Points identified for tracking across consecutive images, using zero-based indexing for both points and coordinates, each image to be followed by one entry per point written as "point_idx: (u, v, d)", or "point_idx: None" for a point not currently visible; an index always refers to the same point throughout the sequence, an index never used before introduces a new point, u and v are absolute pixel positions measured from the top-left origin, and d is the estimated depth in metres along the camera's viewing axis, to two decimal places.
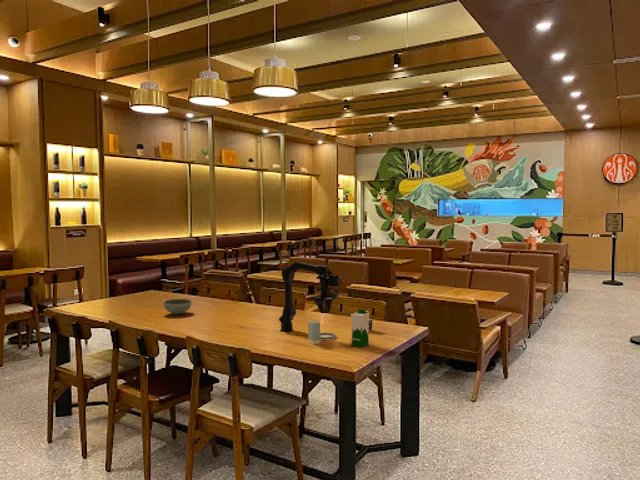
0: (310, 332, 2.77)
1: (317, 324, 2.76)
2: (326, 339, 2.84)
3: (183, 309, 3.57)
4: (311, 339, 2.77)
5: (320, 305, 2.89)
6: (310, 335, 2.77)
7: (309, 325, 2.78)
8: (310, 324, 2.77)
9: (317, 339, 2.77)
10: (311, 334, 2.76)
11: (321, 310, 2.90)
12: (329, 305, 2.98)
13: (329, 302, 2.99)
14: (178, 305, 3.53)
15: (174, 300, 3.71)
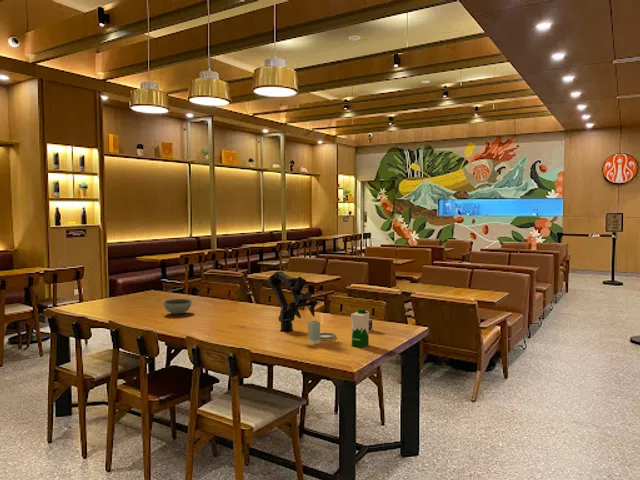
0: (310, 332, 2.77)
1: (317, 324, 2.76)
2: (326, 339, 2.84)
3: (183, 309, 3.57)
4: (311, 339, 2.77)
5: (295, 311, 2.85)
6: (310, 335, 2.77)
7: (309, 325, 2.78)
8: (310, 324, 2.77)
9: (317, 339, 2.77)
10: (311, 334, 2.76)
11: (298, 315, 2.83)
12: (312, 311, 2.89)
13: (311, 308, 2.90)
14: (178, 305, 3.53)
15: (174, 300, 3.71)
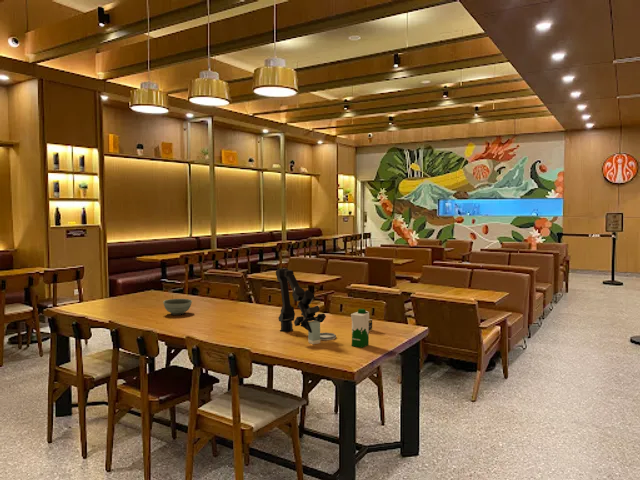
0: None
1: (317, 324, 2.76)
2: (326, 339, 2.84)
3: (183, 309, 3.57)
4: (311, 339, 2.77)
5: (306, 325, 2.78)
6: (310, 335, 2.77)
7: (309, 325, 2.78)
8: (310, 324, 2.77)
9: (317, 339, 2.77)
10: (311, 334, 2.76)
11: (309, 329, 2.77)
12: None
13: None
14: (178, 305, 3.53)
15: (174, 300, 3.71)
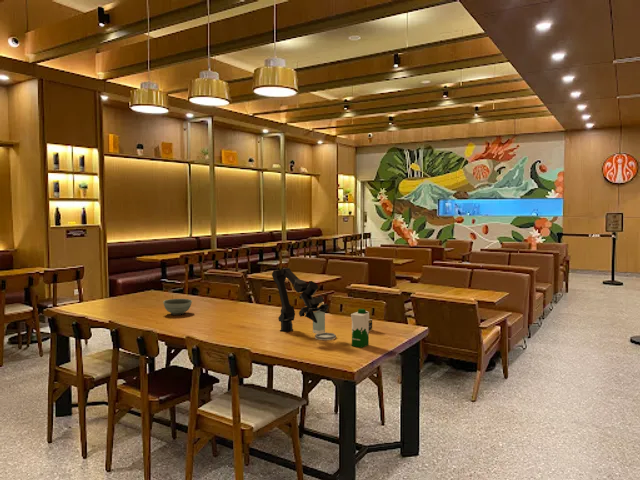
0: None
1: (322, 314, 2.80)
2: (326, 339, 2.84)
3: (183, 309, 3.57)
4: (316, 329, 2.80)
5: (311, 316, 2.81)
6: (315, 325, 2.80)
7: (314, 315, 2.81)
8: (315, 314, 2.80)
9: (322, 329, 2.81)
10: (317, 324, 2.79)
11: (314, 320, 2.80)
12: None
13: None
14: (178, 305, 3.53)
15: (174, 300, 3.71)
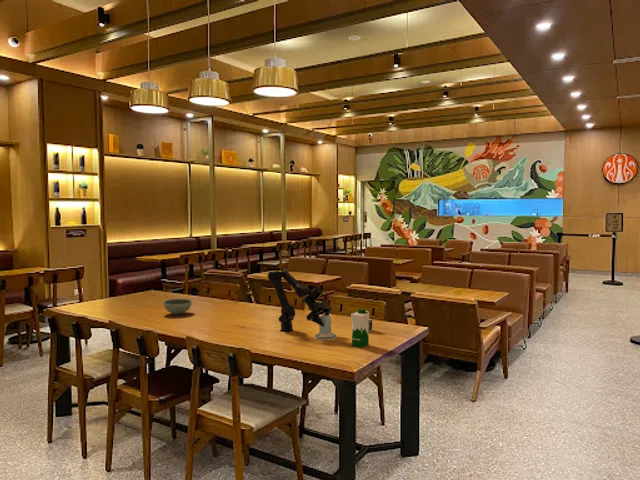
0: (322, 326, 2.88)
1: (329, 318, 2.89)
2: (326, 339, 2.84)
3: (183, 309, 3.57)
4: (323, 333, 2.88)
5: (317, 320, 2.87)
6: (322, 329, 2.88)
7: (321, 320, 2.88)
8: (322, 319, 2.88)
9: (329, 332, 2.89)
10: (324, 328, 2.87)
11: (320, 323, 2.86)
12: None
13: None
14: (178, 305, 3.53)
15: (174, 300, 3.71)
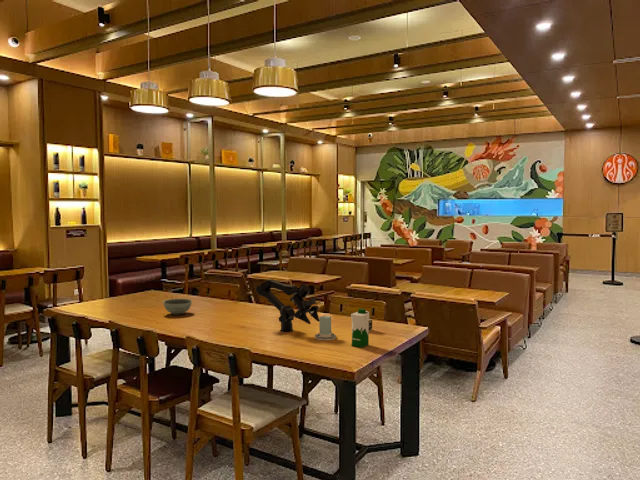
0: (322, 326, 2.88)
1: (329, 318, 2.89)
2: (326, 339, 2.84)
3: (183, 309, 3.57)
4: (323, 333, 2.87)
5: (303, 317, 2.92)
6: (322, 329, 2.88)
7: (321, 320, 2.88)
8: (323, 319, 2.87)
9: (329, 333, 2.89)
10: (324, 329, 2.87)
11: (307, 321, 2.91)
12: (316, 316, 2.99)
13: (314, 314, 3.00)
14: (178, 305, 3.53)
15: (174, 300, 3.71)
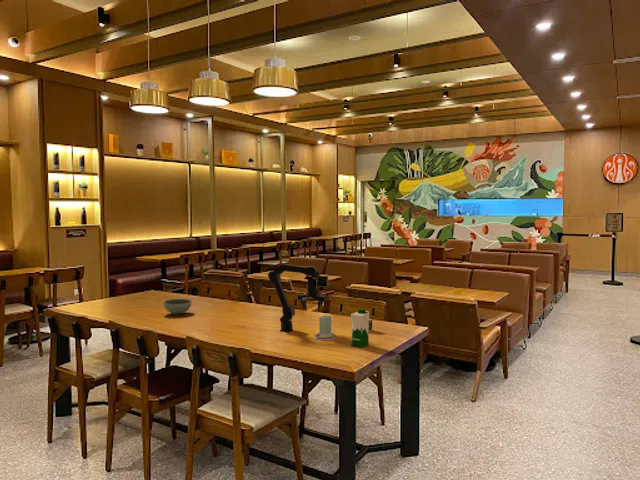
0: (322, 326, 2.88)
1: (329, 318, 2.89)
2: (326, 339, 2.84)
3: (183, 309, 3.57)
4: (323, 333, 2.87)
5: (320, 304, 3.00)
6: (322, 329, 2.88)
7: (321, 320, 2.88)
8: (323, 319, 2.87)
9: (329, 333, 2.89)
10: (324, 329, 2.87)
11: (320, 309, 3.01)
12: (306, 305, 3.05)
13: (305, 302, 3.05)
14: (178, 305, 3.53)
15: (174, 300, 3.71)
